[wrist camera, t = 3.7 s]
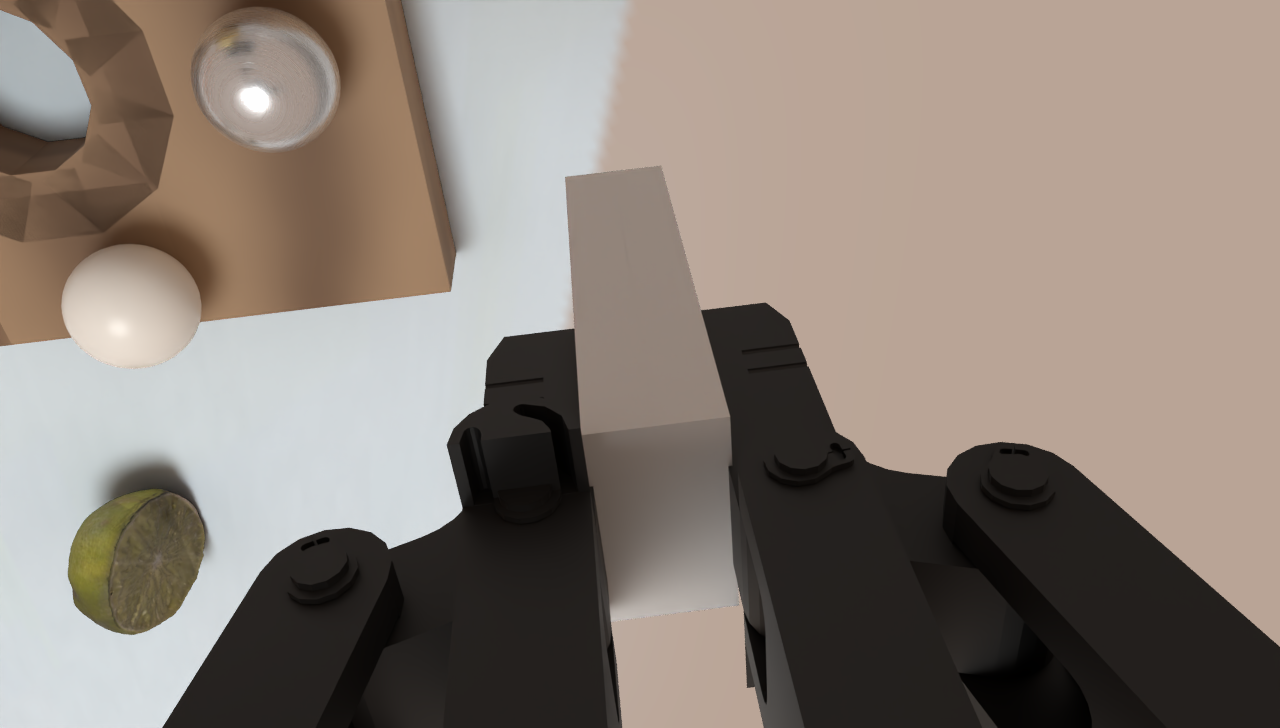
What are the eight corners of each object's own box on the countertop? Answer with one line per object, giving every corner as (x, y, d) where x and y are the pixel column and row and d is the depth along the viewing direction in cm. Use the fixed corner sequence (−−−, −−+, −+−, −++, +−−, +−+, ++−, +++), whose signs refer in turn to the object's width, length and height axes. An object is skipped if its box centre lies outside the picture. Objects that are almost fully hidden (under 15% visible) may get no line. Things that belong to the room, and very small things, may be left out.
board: (-5, 309, 32) (-42, 351, 30) (-290, -226, 24) (-369, -219, 21) (456, 253, 32) (450, 291, 30) (337, -292, 24) (318, -292, 22)
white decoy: (116, 333, 30) (72, 400, 27) (69, 230, 28) (15, 291, 25) (231, 319, 30) (199, 384, 27) (192, 216, 28) (153, 274, 25)
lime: (147, 448, 36) (96, 546, 32) (250, 524, 38) (216, 624, 34) (66, 508, 37) (7, 610, 33) (171, 578, 39) (128, 681, 35)
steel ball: (237, 131, 27) (201, 182, 24) (193, -1, 25) (148, 37, 22) (364, 115, 27) (344, 165, 24) (330, -17, 25) (304, 20, 22)
